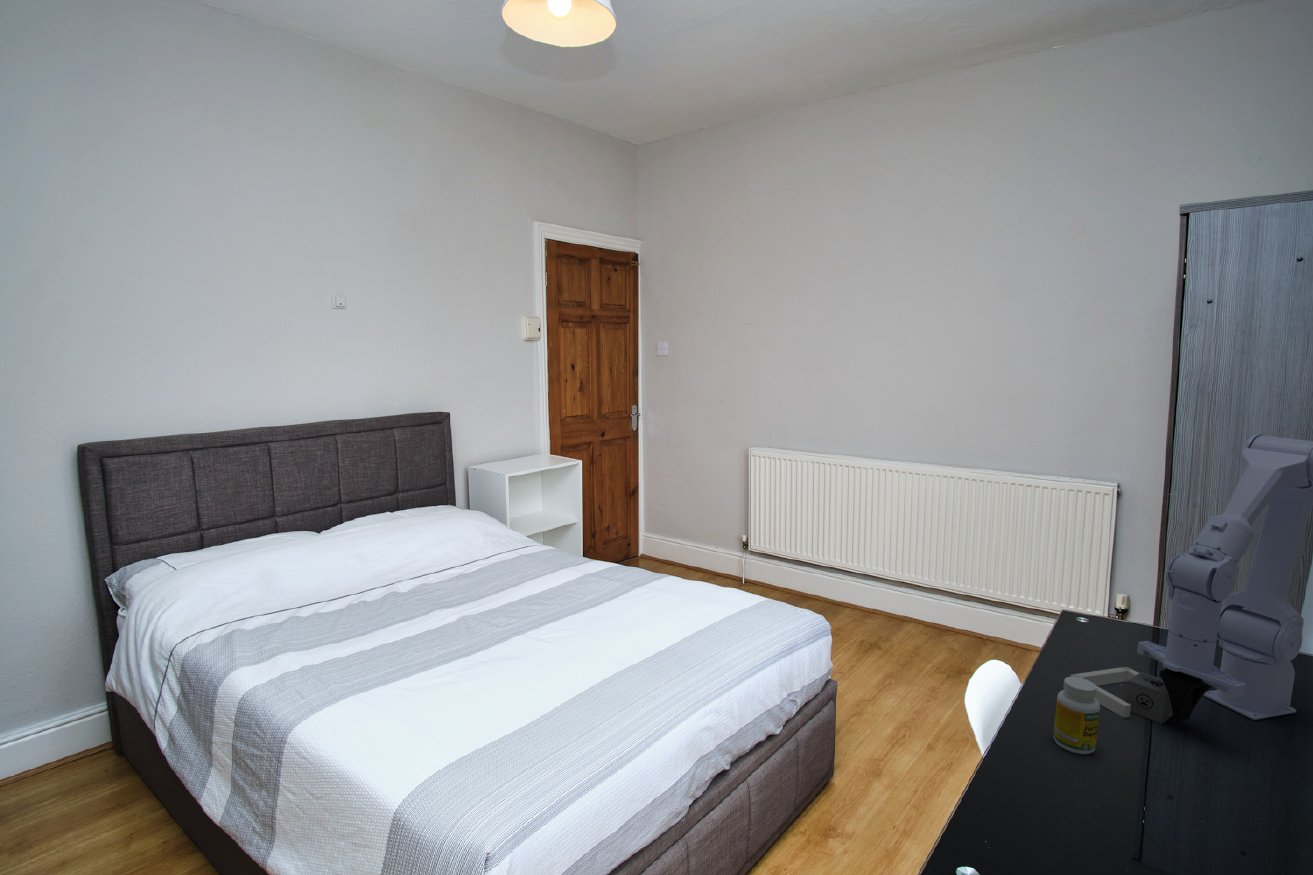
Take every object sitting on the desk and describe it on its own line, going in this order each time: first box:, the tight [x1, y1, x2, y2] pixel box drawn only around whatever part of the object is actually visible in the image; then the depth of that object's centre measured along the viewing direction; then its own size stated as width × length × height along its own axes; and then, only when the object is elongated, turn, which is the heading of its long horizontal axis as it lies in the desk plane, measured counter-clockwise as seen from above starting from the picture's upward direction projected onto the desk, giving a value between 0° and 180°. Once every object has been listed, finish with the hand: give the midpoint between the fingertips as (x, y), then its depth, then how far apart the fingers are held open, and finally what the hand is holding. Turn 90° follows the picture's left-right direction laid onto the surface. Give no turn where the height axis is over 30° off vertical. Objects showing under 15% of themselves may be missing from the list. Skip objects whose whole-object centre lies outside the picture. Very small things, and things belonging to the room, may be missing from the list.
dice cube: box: [1125, 671, 1173, 725], centre depth 108 cm, size 5×5×5 cm
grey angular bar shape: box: [1069, 666, 1140, 719], centre depth 113 cm, size 12×10×2 cm
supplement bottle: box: [1052, 676, 1101, 755], centre depth 98 cm, size 5×5×10 cm
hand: (1180, 718), depth 104 cm, fingers closed
